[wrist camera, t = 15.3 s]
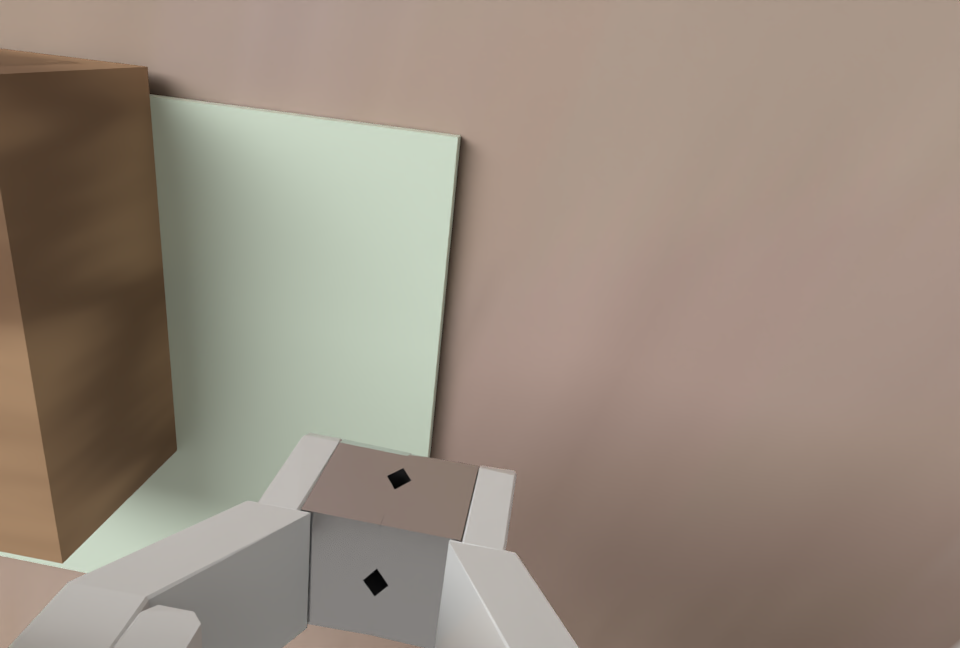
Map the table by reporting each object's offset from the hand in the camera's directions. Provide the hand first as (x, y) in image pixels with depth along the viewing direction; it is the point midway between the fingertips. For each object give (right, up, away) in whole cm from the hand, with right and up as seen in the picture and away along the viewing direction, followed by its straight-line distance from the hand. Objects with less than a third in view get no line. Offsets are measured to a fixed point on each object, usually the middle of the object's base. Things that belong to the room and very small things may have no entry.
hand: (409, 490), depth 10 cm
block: (-10, +8, +5) cm, 14 cm away
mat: (-9, +1, +11) cm, 14 cm away
